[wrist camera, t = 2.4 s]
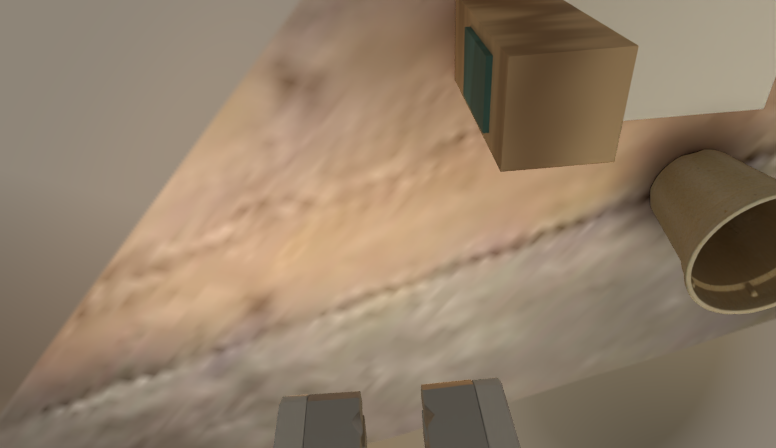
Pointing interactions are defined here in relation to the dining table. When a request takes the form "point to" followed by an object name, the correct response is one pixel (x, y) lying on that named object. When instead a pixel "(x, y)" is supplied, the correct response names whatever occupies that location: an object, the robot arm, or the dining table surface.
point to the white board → (694, 53)
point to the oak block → (542, 81)
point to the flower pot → (720, 229)
